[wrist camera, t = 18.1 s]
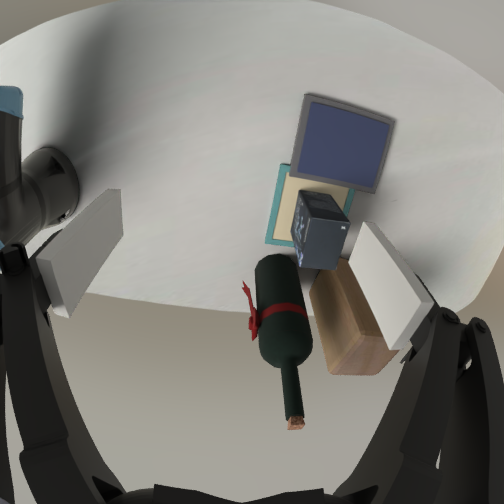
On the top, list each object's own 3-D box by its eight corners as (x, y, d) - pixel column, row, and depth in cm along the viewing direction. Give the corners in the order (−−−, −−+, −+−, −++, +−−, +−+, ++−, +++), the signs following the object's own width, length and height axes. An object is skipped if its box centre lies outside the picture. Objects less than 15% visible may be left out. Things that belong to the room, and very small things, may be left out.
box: (297, 188, 42) (312, 217, 33) (331, 193, 43) (352, 222, 34) (288, 232, 46) (299, 268, 38) (320, 235, 47) (336, 271, 38)
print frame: (264, 242, 48) (264, 243, 47) (280, 163, 40) (280, 164, 40) (334, 251, 49) (334, 252, 49) (356, 179, 42) (358, 180, 41)
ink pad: (288, 174, 41) (289, 177, 40) (304, 94, 35) (306, 94, 33) (372, 191, 43) (375, 194, 42) (391, 120, 36) (395, 121, 35)
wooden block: (370, 263, 51) (412, 339, 34) (347, 300, 56) (376, 377, 39) (326, 252, 49) (361, 335, 32) (306, 292, 54) (326, 376, 37)
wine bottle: (244, 251, 49) (243, 414, 23) (300, 255, 49) (340, 411, 24) (240, 285, 53) (238, 437, 28) (292, 288, 54) (318, 435, 28)
